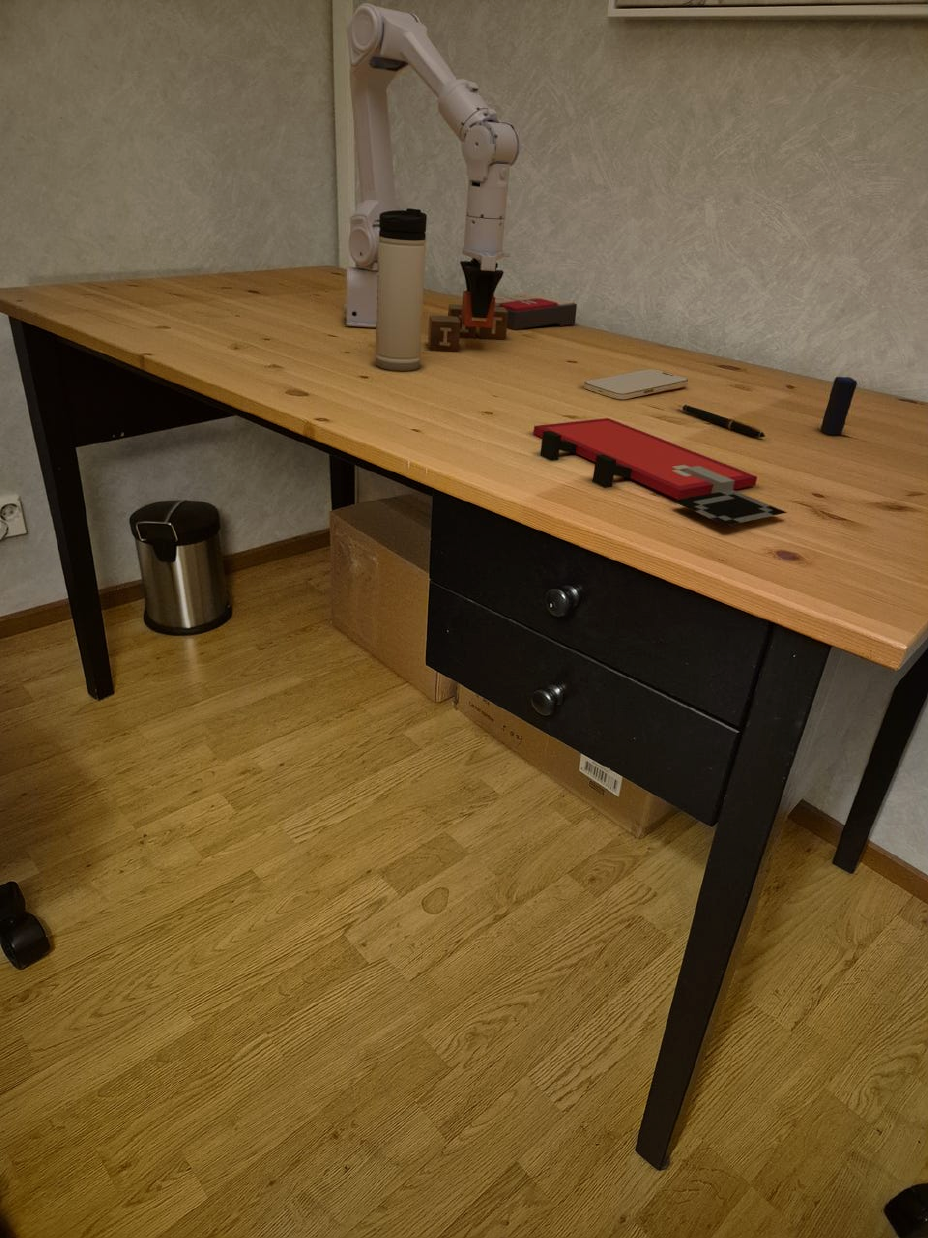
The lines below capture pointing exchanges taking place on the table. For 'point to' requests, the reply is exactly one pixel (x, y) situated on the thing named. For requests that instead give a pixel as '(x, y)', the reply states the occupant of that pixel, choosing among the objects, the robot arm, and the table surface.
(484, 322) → the block
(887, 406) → the table surface
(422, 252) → the travel mug
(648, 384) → the smartphone
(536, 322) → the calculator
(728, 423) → the fountain pen
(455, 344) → the I block front
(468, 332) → the dark brown cube block
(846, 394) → the eraser
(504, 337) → the T block
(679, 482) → the red board with handle
